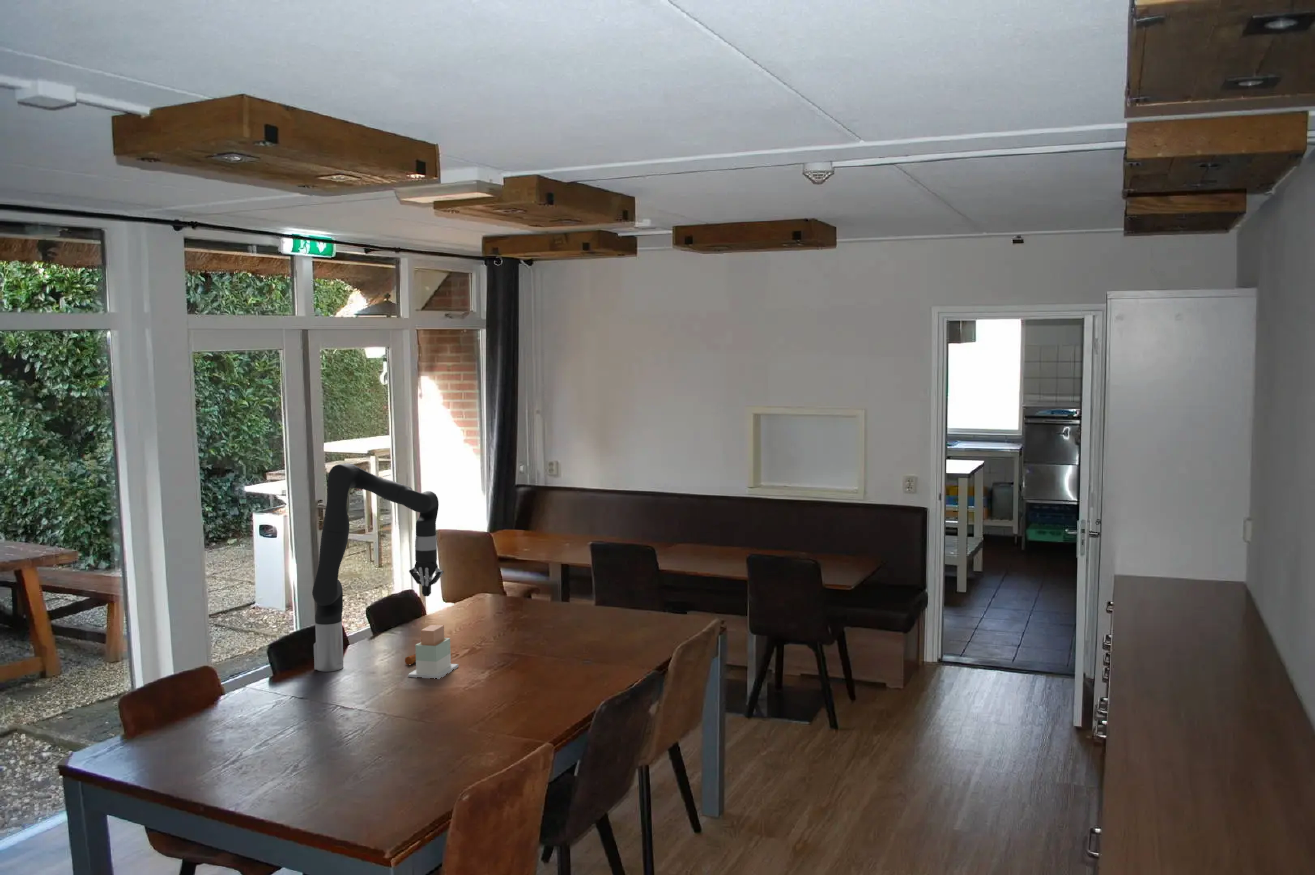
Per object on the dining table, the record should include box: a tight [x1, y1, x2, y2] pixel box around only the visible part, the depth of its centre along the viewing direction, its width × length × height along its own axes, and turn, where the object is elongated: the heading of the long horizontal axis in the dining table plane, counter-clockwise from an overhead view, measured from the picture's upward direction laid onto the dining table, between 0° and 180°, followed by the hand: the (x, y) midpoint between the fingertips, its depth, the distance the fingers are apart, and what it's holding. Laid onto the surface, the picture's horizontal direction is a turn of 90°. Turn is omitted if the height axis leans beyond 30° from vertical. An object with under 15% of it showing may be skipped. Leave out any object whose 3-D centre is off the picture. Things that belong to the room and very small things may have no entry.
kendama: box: [404, 653, 416, 665], centre depth 394 cm, size 6×6×20 cm
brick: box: [420, 624, 445, 646], centre depth 375 cm, size 8×5×6 cm, turn 165°
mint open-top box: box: [408, 637, 459, 680], centre depth 376 cm, size 15×12×11 cm
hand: (426, 595), depth 375 cm, fingers closed
